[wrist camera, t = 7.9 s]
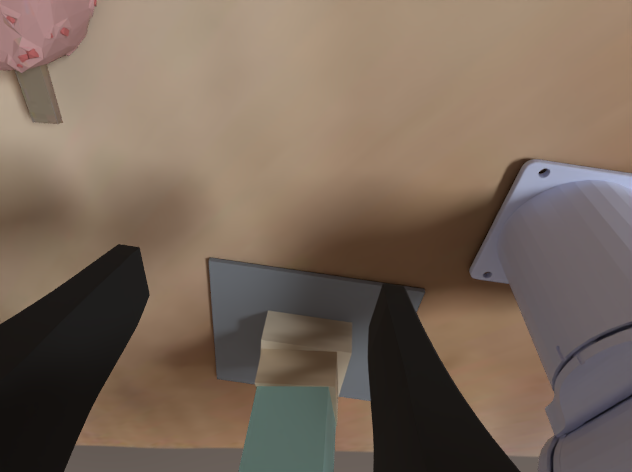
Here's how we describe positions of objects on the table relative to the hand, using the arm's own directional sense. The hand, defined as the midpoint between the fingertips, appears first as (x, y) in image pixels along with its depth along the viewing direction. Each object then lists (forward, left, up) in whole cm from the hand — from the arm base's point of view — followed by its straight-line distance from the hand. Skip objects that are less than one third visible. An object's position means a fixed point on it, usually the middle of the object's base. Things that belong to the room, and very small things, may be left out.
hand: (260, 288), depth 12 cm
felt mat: (-2, +16, -10) cm, 19 cm away
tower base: (-2, +16, -10) cm, 19 cm away
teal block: (-2, +16, -5) cm, 17 cm away
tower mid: (-2, +16, -7) cm, 18 cm away
